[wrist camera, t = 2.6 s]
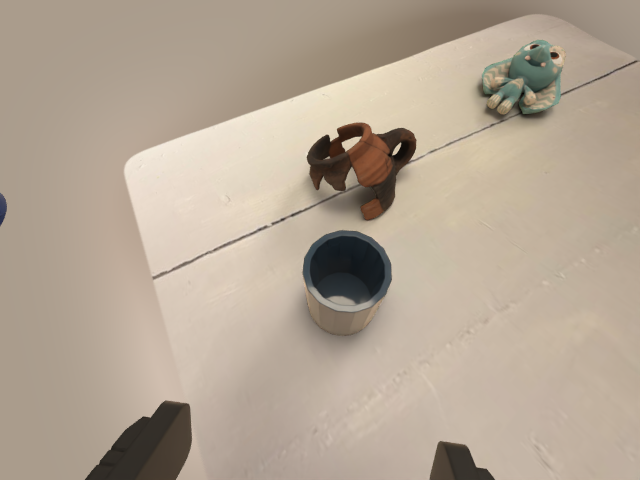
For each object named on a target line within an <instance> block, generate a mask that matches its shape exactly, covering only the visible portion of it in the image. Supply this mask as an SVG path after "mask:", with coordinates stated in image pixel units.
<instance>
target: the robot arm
mask: <svg viewBox="0 0 640 480" xmlns="http://www.w3.org/2000/svg"><path fill="white" fill-rule="evenodd" d="M191 442H192V433H191V415H190V406H189V404H187V403H180V402H173V401H164V402H163V403H162V404H161V405H160V406H159V407H158V409H157V410H156V411H155V413H154V414H153V415H152V417H151V418H149V417H142V418H141V419H139V420H138V421H137V422H136V423H134V424H133V425H131V426H130V427H129V428H127V429H126V430H125V431H124V432H123V433H122V435H121V436H120V437H119V438H118V440H117V441H116V442H115V443H114V444H113V446H112V448H111V450H109V451H108V452H107V453H106V454H105V456H104V457H103V458H102V459H101V460H100V463H99V465H96V467H95V468H94V469H93V470H92V471H91V473H90V474H89V475H88V476H87V478H86V479H85V480H176V478H177V477H178V475H179V473H180V471H181V469H182V467H183V465H184V463H185V461H186V459H187V457H188V454H189V451H190V447H191ZM430 480H495V479H494V478H493V476H492V475H491V474H490V473H489V471H488V470H487V469H483V468H477V467H476V466H475V463H474V461H473V458H472V456H471V453H470V451H469V449H468V447H467V446H466V445H463V444H456V443H450V442H443V441H440V442H439V443H438V445H437V450H436V454H435V458H434V462H433V466H432V470H431V474H430Z"/></svg>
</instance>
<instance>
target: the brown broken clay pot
mask: <svg viewBox="0 0 640 480" xmlns="http://www.w3.org/2000/svg"><path fill="white" fill-rule="evenodd" d="M337 132H338V134H339V137H337V138H335V139H334V140H332V141H331V142H330V138H329V135H325V136H323V137H322V138H321V139H319V140H318V141H317V142H316V143H315V144H314V145H313V146H312V147H311V149H310V150H309V152H308V155H307V161H308V163H309V164H310V165H311V167H310V173H309V174H310V177H311V178H312V181H313V184H314V186H315V188H316V190H319V186H320V182H321V180H322V178H323V176H324V179H325V180H326V182H327V183H329V184H330V185H332V187H333V188H334V189H335V190H338V191H344V190H345V189H346V186H345V180H346V177H347V174H348V172H349V170H350V168H351V167H353V169H354V171H355V173H356V176H357V179H358V182H359V183H360V184H361V185H362V186H364V187H370V186H371V188H372V190H373V191H374V192H375V194H376V198H374V199H373V200H372V201H370V202H368V203H366V204H364V205H362V206H361V211H362V213H363V214H364V217H365V219H366V220H369V219H372V218H374V217H376V216H378V215H380V214H381V213H383V211H385V210H386V209H387V208H388V207H389V206H390V205H391V204H392V202H393V200H394V197H395V183H396V175H397V173H398V172H399V170H400V169H401V168H402V167H404V166H405V165H406V164H407V163H408V162H409V160H410V159H411V158H412V156H413V154H414V152H415V150H416V139H415V136H414V134H413V133H412V132H411V131H409V130H407V129H404V128H398V129H394V130H391V131H389V132H387V133H385V134H374V133H373V134H372V131H371V128H370V126H369V125H368V124H365V123H352V124H348V125H345V126H342V127H340V128H338V129H337ZM360 136H362V138H361V139H360V141H359V142H358V143H357V144H356V145H354V146H353V147H352V148H351V149H349V150H348V151H347V152H345V149H344V148H343V147H342V143H341V142H343V141H345V140H348V139H351V138H353V137H360ZM399 143H401V147H400V149H399V151H398V152H397V154H395V155H393V156H392V154H393V151H394V149H395V147H396V146H397V145H398V144H399ZM329 156H330V159H325V158H327V157H329ZM323 159H325V160H323Z"/></svg>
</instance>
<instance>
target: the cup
mask: <svg viewBox="0 0 640 480" xmlns="http://www.w3.org/2000/svg"><path fill="white" fill-rule="evenodd" d="M303 280H304V286H305V292H306V298H307V304H308V308H309V312H310V314H311V317H312V318H313V320H314V321H315V323H316V324H317V325H318V326H319V327H320V328H321V329H323V330H324V331H326V332H328V333H330V334H334V335H339V336H346V335H352V334H355V333H357V332H359V331H361V330H362V329H363V328H365V327H366V326H367V325H368V323H369V322H370V321H371V320H372V318H373V316H374V314H375V313H376V311H377V309H378V307H379V306H380V304H381V302H382V300H383V298H384V297H385V295H386V293H387V290H388V288H389V285H390V283H391V280H392V273H391V262H390V260H389V258H388V256H387V254H386V252H385V250H384V248H383V247H381V246H380V245H379V244H378V243H377V242H376V241H375V240H374V239H373V238H372V237H369V236H367V235H365V234H362V233H360V232H357V231H344V230H341V231H336V232H333V233H329V234H326V235H324V236H323V237H321V238H320V239H319V240H317V241H316V242H315V243H313V244H312V246H311V247H310V249H309V251H308V252H307V254H306V256H305V258H304V265H303Z"/></svg>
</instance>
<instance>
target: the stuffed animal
mask: <svg viewBox="0 0 640 480" xmlns="http://www.w3.org/2000/svg"><path fill="white" fill-rule="evenodd" d="M565 57H566V54H565V51H564V50H563V48H561V47H559V46H553V45H551V44H549V43H548V42H546V41H544V40H536V41H533V42H531V43H530V44H528V45H525V46H523V47H522V48H521V49H520V50H519V51H518V52H517V53H516V54H515V55H514V56H513V58H510V59H507V60H504V61H501V62H498V63H495V64H492V65H490V66H488V67H486V68H485V69H484V72H483V74H482V81H483V91H484V93H485V94H494V95H493V96H492V97H491V98H490V99H489V100H488V101H487V106H488V107H489V108H492V109H494V108H495V107H496V106H497V105H498V104H499V103H500V102H501V100H502V101H503V102H502V103H501V104H500V105H499V106H498V109H497V111H498V112H499V113H500V114H506V113H507V112H508V111H509V110H510V109H511V108H512V107H513V105H514V103H515V102H516V101H517V100H518V99H519V97H520V95H521V92H523V93H524V96H523V97H522V99H521V100H520V102H519V106H520V108H521V110H522V113H523V114H530V113H537V112H541V111H543V110H545V109H548V108H550V107H552V106H554V105H556V104H558V103H559V100H560V97H561V92H560V74H561V71H562V68H563V64H564V61H565Z"/></svg>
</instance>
